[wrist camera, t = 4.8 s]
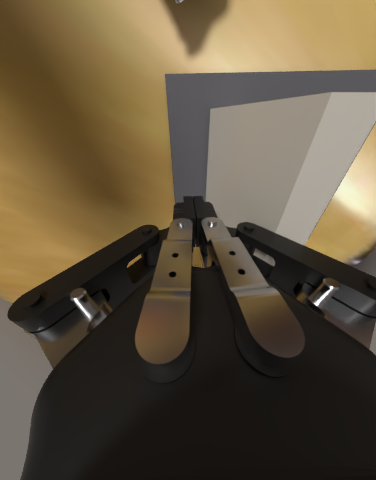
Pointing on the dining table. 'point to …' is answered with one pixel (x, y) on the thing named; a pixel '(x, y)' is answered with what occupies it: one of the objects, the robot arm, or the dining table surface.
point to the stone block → (284, 159)
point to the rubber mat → (230, 94)
